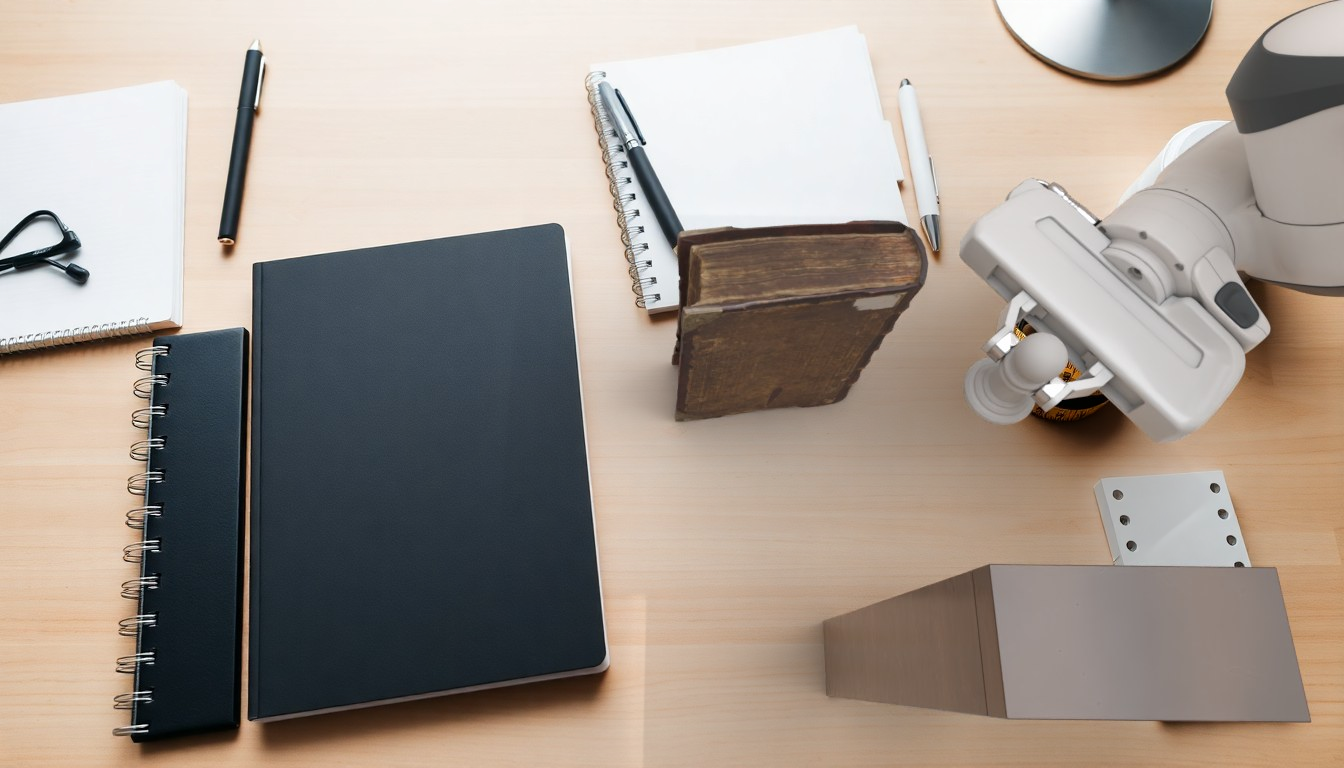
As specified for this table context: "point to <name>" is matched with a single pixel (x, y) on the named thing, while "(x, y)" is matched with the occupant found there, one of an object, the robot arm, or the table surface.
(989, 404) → the chess piece
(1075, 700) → the brushed taupe box
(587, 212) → the table surface
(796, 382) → the book
